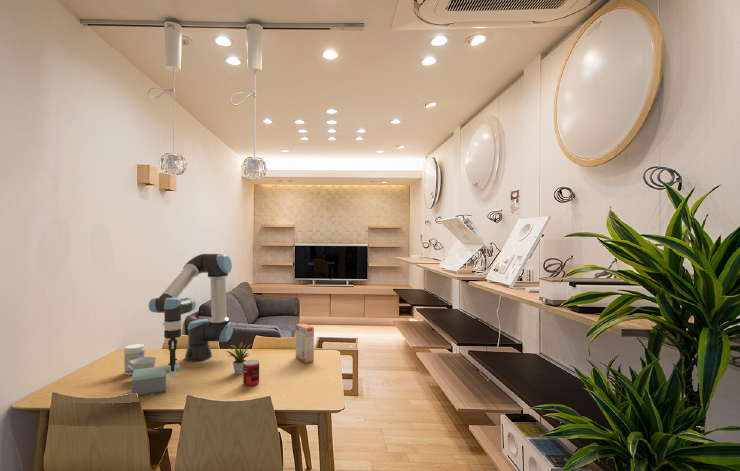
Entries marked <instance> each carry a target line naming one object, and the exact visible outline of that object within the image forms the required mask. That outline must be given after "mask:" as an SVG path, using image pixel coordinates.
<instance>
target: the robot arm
mask: <svg viewBox="0 0 740 471" xmlns="http://www.w3.org/2000/svg"><path fill="white" fill-rule="evenodd" d="M232 264H233V263H232V259H231V258H230V256H229V255H227V254H226V253H202V254H198V255H196V256H194V257H192V258H191V259H189V260H188V261H187V262H186V263H185V264H184V266H182V267H183V268H182V271H180V273H179V274H177V276H176V277H175V278H174V280H173V281H172V282H171V283H170V284H169V285H168V287H167V288H165V289H164V291H163V292H162V293H161V295H159V297H155V298H152V299H150V300H149V302H148V310H149V311H150V312H151V313H157V314H164V317H163V318H164V322H163V323H162V326H164V327H163V328H164V331H163V336H164V338H165V339H168V342H167V344H168V351H169V363H168V364H167V366H170V373H169V379H174V378H176V377H177V372H176V365H177V364H176V363H177V362H176V361H177V360H178V358H176V350H177V347H178V346H177V344H178V339H176V338H180V337H181V336H182V329H181V328H182V315H184V314H187V313H191V312H192V311H194V310H195V308H196V306H197V303H196V300H195V299H194V298H192V297H185V298H181V297H180V295H181V294H182V293H183V292H184V290H186V288H187V287H188V286H189V284H190V283H191V282H192V281H193V280H194V278H196V277H198V276H199V275H200V274H203V273H205V274H207V277H208V279H210V305H211V306H210V308H211V309H210V310H211V317H210V319H209V318H201V319H196V320H193V321H189V323H188V325H187V338H188V339H187V342H188V344H187V345H188V346H187V349H186V352H185V355H184V359H185V361H187V362H200V361H206V360H208V359H211V357H212V355H213V353H212V350H211V347H210V344H209V343H210V342H215V343H216V342H217V343H218V342H219V343H223V342H228V341H229V340H230V339H231V337H232V335H233V332H234V323H233V322H231V321H230V317H229V316H228V315H227V284H226V283H227V282H226V278H227V277H228V276H229V274H230V272H231V271H232V267H233V266H232Z"/></svg>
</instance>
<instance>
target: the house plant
mask: <svg viewBox="0 0 740 471" xmlns="http://www.w3.org/2000/svg"><path fill="white" fill-rule="evenodd" d="M252 345H253V343H251V344H249V345H247V344H245V345H243V342H241V343H239V346H238V347H239V348H238V347H237V346H236V345H235V344H233V345H231V344H230V346H231V347H232V348H234V350H233V349H232V348H230V347H228V349H230V350H231V351H232V352H231V351H229V350H226V352H227V353H228V354H229V357H232V358H234V360H233V361H232V365H233V370H234V375H243V362H245V361H247V360H246V359H245V358H248V357H250V353H248V352H247V351H248V350H249V349H250V346H252ZM245 346H247V347H246V348H245Z"/></svg>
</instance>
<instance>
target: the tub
mask: <svg viewBox="0 0 740 471" xmlns="http://www.w3.org/2000/svg"><path fill="white" fill-rule="evenodd" d="M166 392H167V375H166V376H164V377H157V378H150V379H143V380H136V381H132V380H131V394H132V393H137V394H138V396H139V397H138V398H141V397H147V396H152V395H151V394H154V395H158V394H159V393H160V394H165V393H166ZM160 394H159V395H160ZM146 395H147V396H146Z"/></svg>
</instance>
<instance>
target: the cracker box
mask: <svg viewBox="0 0 740 471" xmlns="http://www.w3.org/2000/svg"><path fill="white" fill-rule="evenodd" d="M314 337H315V327H314V326H311V325H310V324H308V323H305V322H303V323H297V324H295V358H296V359H298V360H300V361H301V362H302V363H305V364H306V363H307V364H308V363H314V361H315V360H314V357H315V356H314V353H315V350H314V348H315V347H314V345H315V344H314V343H315V339H314Z"/></svg>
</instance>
